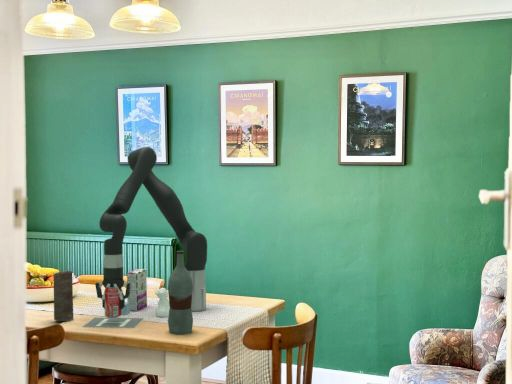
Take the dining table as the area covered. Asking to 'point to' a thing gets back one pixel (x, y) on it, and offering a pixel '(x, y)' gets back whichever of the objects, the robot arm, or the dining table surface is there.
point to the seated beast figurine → (162, 303)
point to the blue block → (126, 309)
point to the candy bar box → (137, 289)
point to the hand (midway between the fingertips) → (113, 308)
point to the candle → (63, 296)
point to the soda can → (112, 302)
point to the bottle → (180, 298)
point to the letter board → (114, 322)
